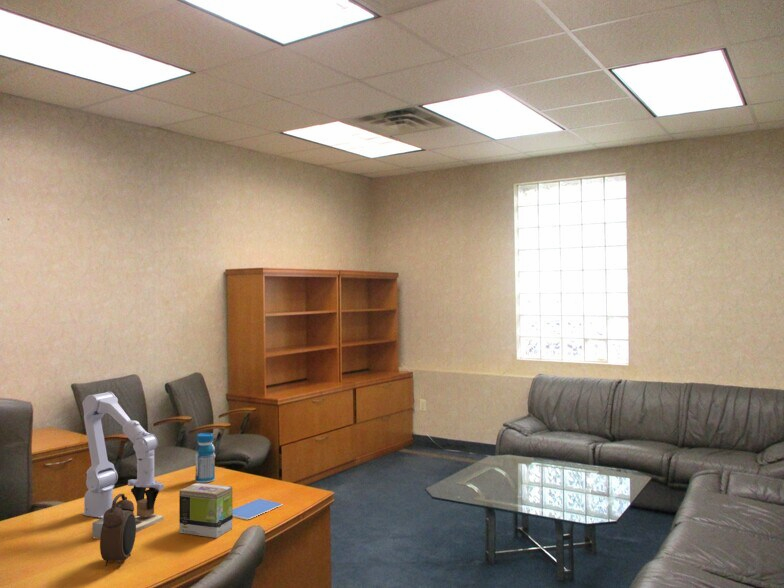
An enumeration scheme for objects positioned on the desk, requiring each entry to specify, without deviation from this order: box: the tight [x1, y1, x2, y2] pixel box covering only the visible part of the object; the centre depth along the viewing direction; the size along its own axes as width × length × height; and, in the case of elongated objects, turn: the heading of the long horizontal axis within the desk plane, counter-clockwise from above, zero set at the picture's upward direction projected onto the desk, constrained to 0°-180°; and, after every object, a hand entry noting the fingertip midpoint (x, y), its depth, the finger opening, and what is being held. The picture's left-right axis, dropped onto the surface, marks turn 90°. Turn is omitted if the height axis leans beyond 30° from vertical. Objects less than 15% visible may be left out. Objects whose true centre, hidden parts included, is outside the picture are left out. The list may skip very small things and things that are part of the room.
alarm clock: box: [99, 493, 137, 569], centre depth 188 cm, size 15×7×20 cm, turn 4°
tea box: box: [178, 482, 234, 539], centre depth 212 cm, size 15×10×15 cm, turn 71°
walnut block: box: [136, 497, 155, 517], centre depth 222 cm, size 4×4×5 cm
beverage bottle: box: [194, 432, 216, 484], centre depth 270 cm, size 8×8×20 cm
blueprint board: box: [134, 513, 165, 533], centre depth 218 cm, size 10×14×1 cm
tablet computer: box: [233, 498, 284, 521], centre depth 234 cm, size 19×13×1 cm, turn 150°
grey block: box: [91, 518, 103, 539], centre depth 208 cm, size 4×4×5 cm
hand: (145, 507), depth 222 cm, fingers closed on walnut block, 4 cm apart
